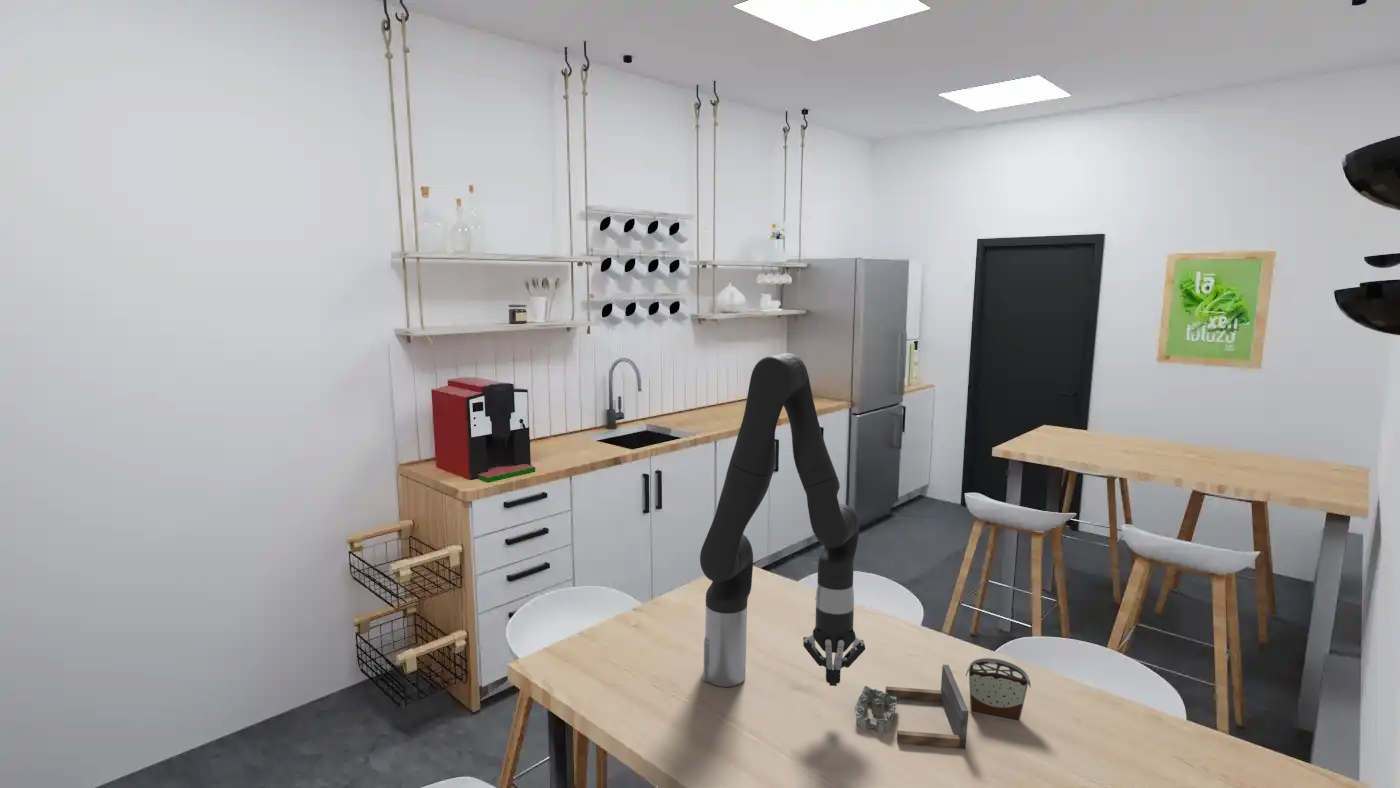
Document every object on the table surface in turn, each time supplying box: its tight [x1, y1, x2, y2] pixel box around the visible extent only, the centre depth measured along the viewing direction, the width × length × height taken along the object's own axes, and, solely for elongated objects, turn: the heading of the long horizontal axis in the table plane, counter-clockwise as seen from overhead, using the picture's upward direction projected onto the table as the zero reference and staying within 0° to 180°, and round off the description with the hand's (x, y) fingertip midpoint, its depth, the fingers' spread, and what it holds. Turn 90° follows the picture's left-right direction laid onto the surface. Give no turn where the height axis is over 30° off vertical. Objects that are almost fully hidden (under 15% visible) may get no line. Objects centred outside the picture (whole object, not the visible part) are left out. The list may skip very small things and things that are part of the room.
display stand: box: [885, 664, 970, 750], centre depth 144 cm, size 13×16×8 cm
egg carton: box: [854, 685, 898, 734], centre depth 146 cm, size 11×8×4 cm
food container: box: [965, 657, 1032, 723], centre depth 148 cm, size 12×6×10 cm, turn 71°
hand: (832, 683), depth 146 cm, fingers closed
